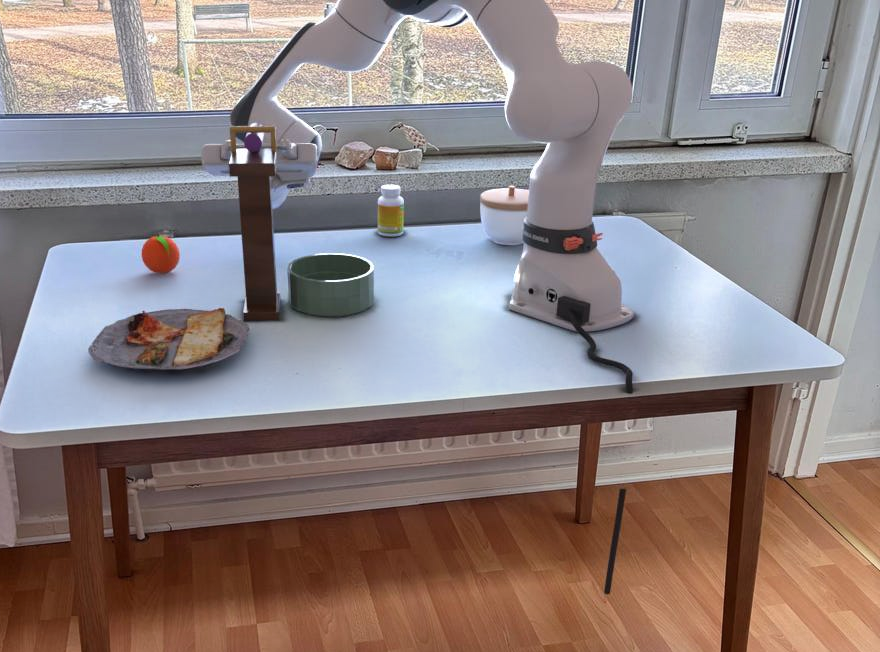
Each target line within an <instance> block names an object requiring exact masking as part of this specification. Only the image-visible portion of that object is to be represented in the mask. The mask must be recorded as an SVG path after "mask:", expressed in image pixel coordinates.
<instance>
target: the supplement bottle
mask: <svg viewBox="0 0 880 652" xmlns="http://www.w3.org/2000/svg"><path fill="white" fill-rule="evenodd" d="M380 193H381V196H380V197H379V198H378V199H377V233H378V235H380V236H382V237H390V238H394V237H398V236H402V235H403V234H404V218H405V217H404V215H405V214H404V213H405V211H404V210H405V209H404V208H405V200H404V198H403V197H402V196H400V195H401V186H400V185H398V184H384V185H381V187H380Z"/></svg>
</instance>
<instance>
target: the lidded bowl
mask: <svg viewBox="0 0 880 652" xmlns="http://www.w3.org/2000/svg"><path fill="white" fill-rule="evenodd" d="M528 195H529V189H523V188H516V187H515V185H509V186H508V187H503V188H491V189H488V190H485V191H483V192H482V193H480V194H479V202H480V206H479V207H480V208H479V213H480V214H479V215H480V222H481V225H482V226H481V227H482V229H483V231H484V233H486V235H487V236H488V237H489V238H490V241H491V242H492V243H494V244H497V245H500V246H501V245H502V246H520V245H524V241H523V239H522V237H523V231H522V230H523V226H524V219H525V218H526V217H527V208H528Z"/></svg>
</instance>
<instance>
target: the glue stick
mask: <svg viewBox="0 0 880 652" xmlns="http://www.w3.org/2000/svg"><path fill="white" fill-rule="evenodd" d="M250 126H262V125H261V124H259V123H253V124H251V125H250ZM263 138H264V133H247V134H246V137H245V140H244V142H243V144H244V145H245V147H246V149H247V150H248V151H250V152H257V151H258V150H260V148H261V146H262V142H263Z"/></svg>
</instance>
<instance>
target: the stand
mask: <svg viewBox="0 0 880 652" xmlns="http://www.w3.org/2000/svg"><path fill="white" fill-rule="evenodd" d="M235 133H270V134H271V149H260V150H258V151H257V152H250V151H248V150H247V149H236V144H237V138H236V136H235ZM229 140H230V142H231V152H232V154H231V158H230V161H229V173H230V176H229V177H236V178H237V187H238V188H237V190H238V203H239V217H240V218H239V219H240V233H241V247H242V260H243V261H242V262H243V275H244V288H245V289H244V290H245V296H244V297H245V298H244V305H243V311H242V317H243V318H242V319H243V322H271V321H273V322H276V321H280V320H281V303H282V299H281V293H279V292H278V287H277V286H278V284H277V266H276V252H275V251H276V248H275V231H274V230H275V229H274V228H275V227H274V212H273V211H274V209H273V208H272V190H271V176H275V173H276V163H277V155H276V151H277V149H276V129H275V126H231V125H230V126H229Z"/></svg>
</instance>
